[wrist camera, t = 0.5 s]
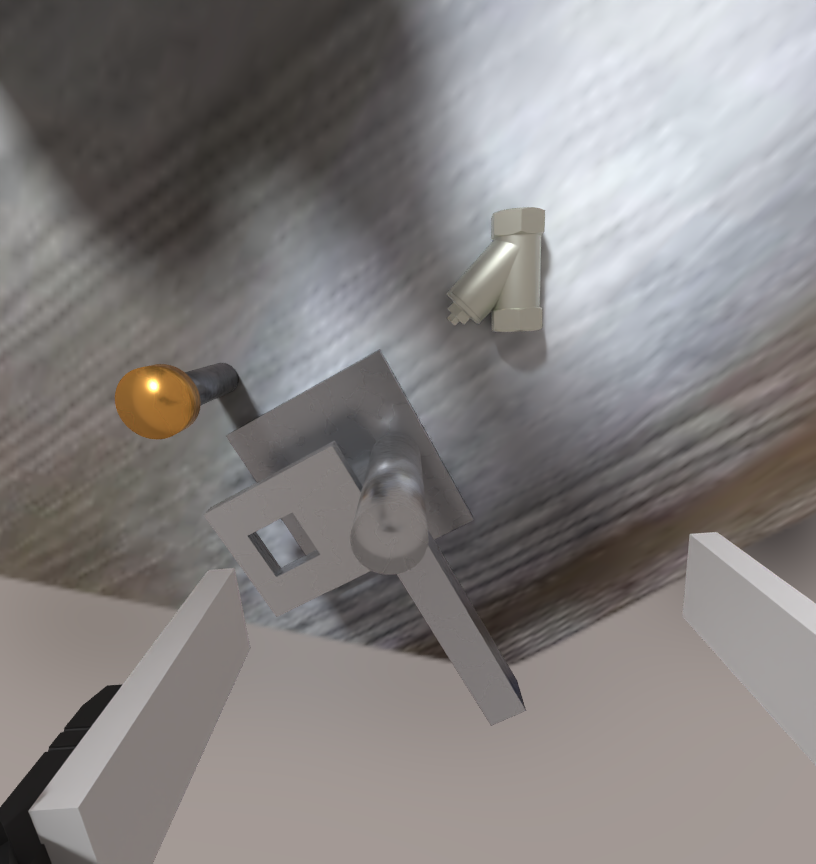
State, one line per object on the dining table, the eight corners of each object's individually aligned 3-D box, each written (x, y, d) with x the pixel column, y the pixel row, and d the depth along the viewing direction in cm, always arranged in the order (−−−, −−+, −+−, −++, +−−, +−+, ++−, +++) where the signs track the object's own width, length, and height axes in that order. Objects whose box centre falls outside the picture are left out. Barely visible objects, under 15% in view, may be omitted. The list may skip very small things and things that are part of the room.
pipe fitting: (446, 332, 36) (534, 328, 36) (447, 335, 33) (544, 330, 32) (444, 222, 34) (536, 216, 34) (443, 212, 31) (548, 204, 30)
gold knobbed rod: (185, 367, 36) (99, 389, 26) (230, 341, 36) (160, 353, 26) (216, 413, 37) (144, 451, 27) (259, 388, 37) (203, 418, 27)
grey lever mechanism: (220, 438, 38) (104, 517, 23) (379, 349, 36) (361, 375, 22) (361, 647, 43) (338, 819, 28) (507, 578, 41) (562, 724, 27)
